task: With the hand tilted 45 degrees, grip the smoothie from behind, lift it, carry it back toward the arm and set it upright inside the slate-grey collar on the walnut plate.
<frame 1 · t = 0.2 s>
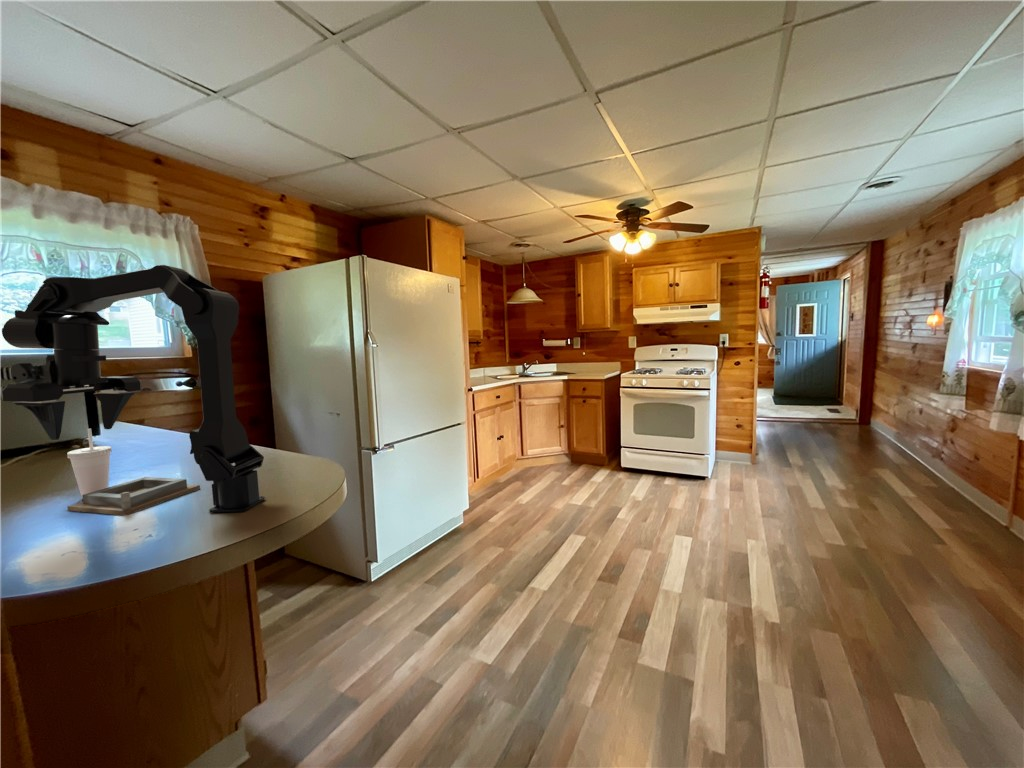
hand: (82, 434, 76), 14 cm above the table, tool pointing down, fingers open, 9 cm apart
smoothie: (95, 496, 85), on the table
socket: (138, 498, 82), on the table
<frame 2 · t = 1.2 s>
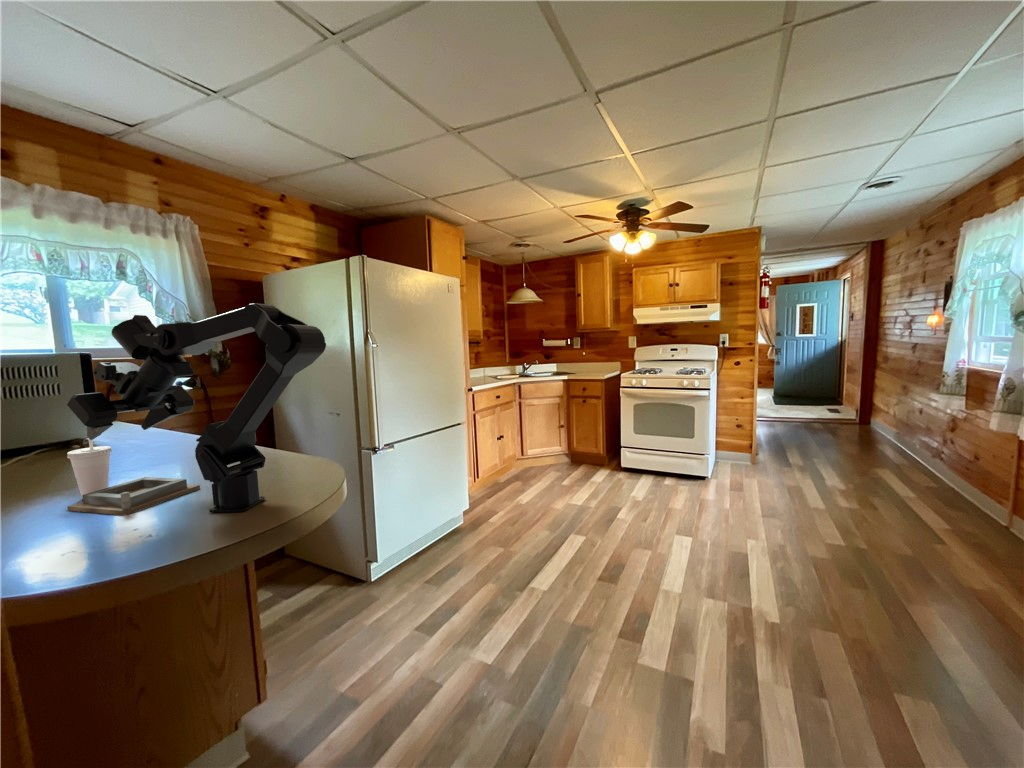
hand: (118, 432, 82), 13 cm above the table, tool tilted 45°, fingers open, 9 cm apart
nothing on the table moved.
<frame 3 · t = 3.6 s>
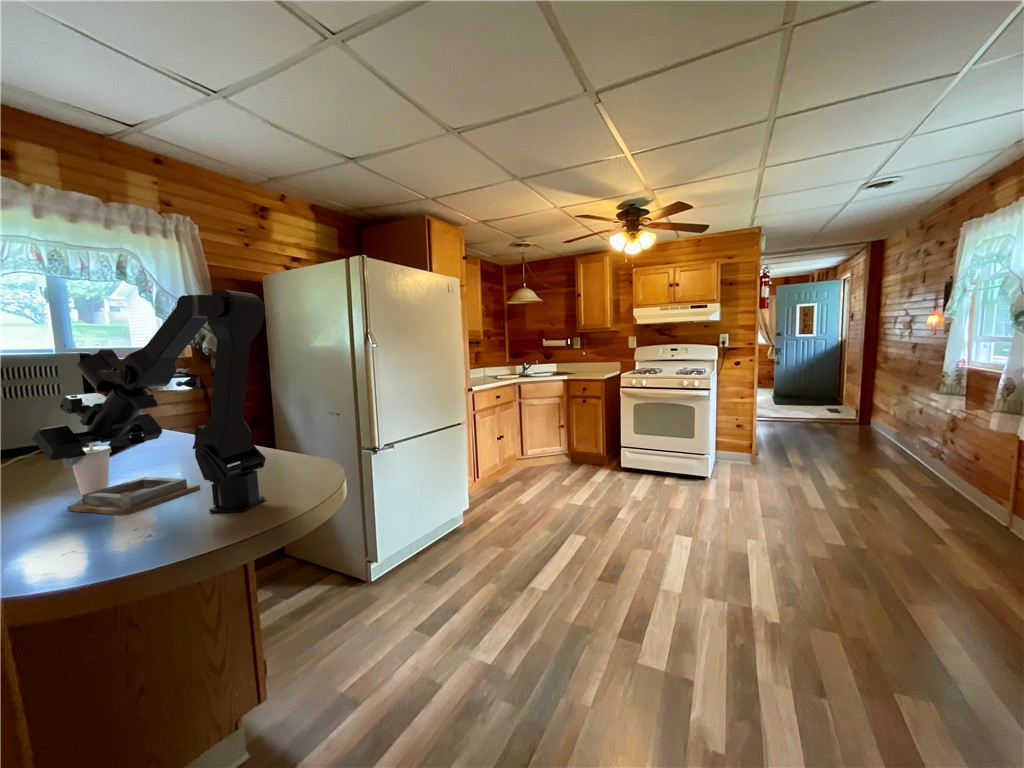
hand: (86, 461, 84), 7 cm above the table, tool tilted 45°, fingers closed on smoothie, 6 cm apart
smoothie: (95, 496, 85), on the table, touching gripper
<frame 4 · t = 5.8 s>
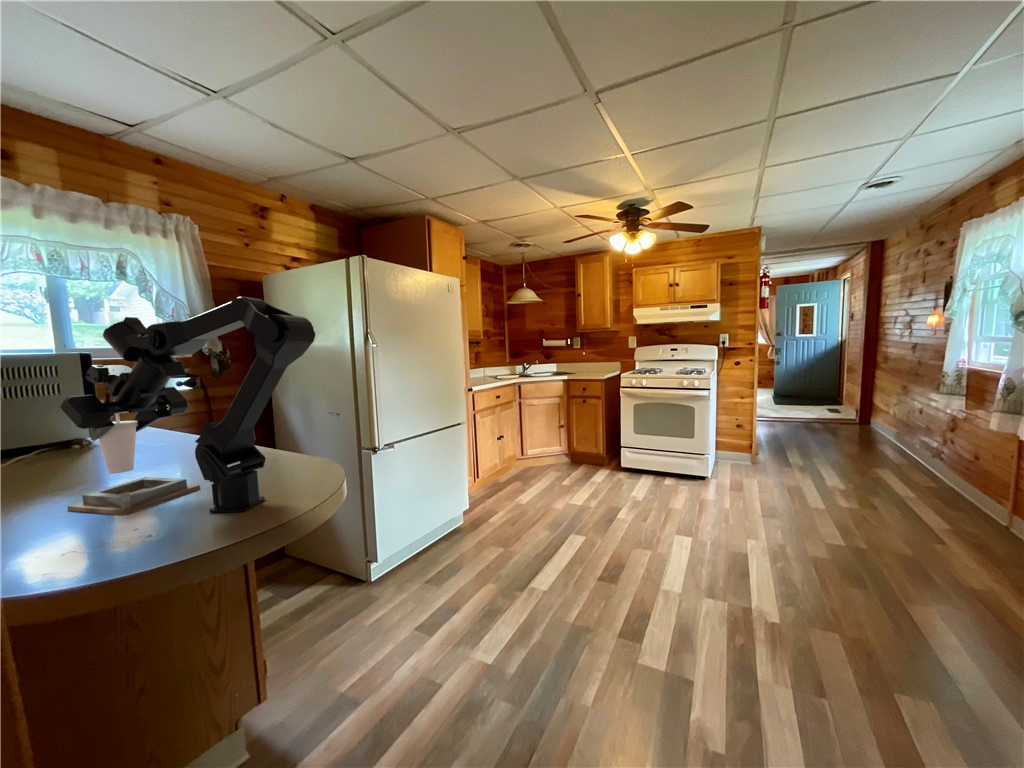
hand: (112, 435, 82), 13 cm above the table, tool tilted 45°, fingers closed on smoothie, 6 cm apart
smoothie: (121, 472, 82), point 5 cm above the table, touching gripper
when the fingers open (9 cm above the table, at t = 7.8 s): smoothie stays where it is, resting on socket.
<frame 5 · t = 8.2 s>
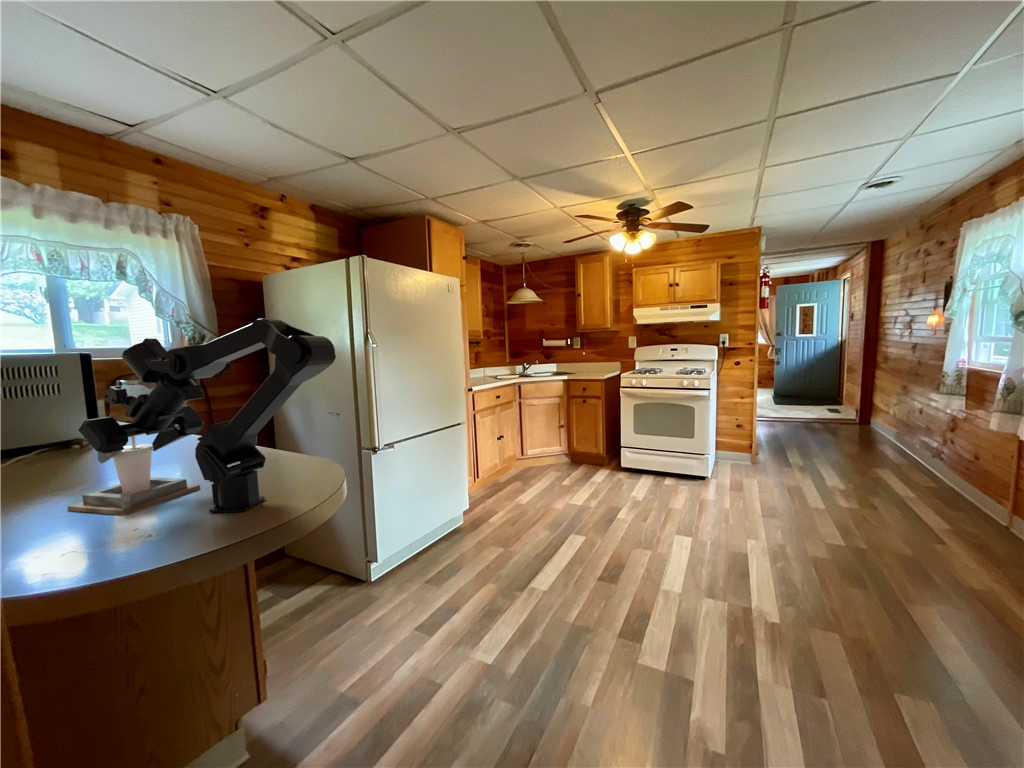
hand: (128, 455, 82), 9 cm above the table, tool tilted 45°, fingers open, 9 cm apart
smoothie: (137, 496, 82), point 1 cm above the table, touching socket
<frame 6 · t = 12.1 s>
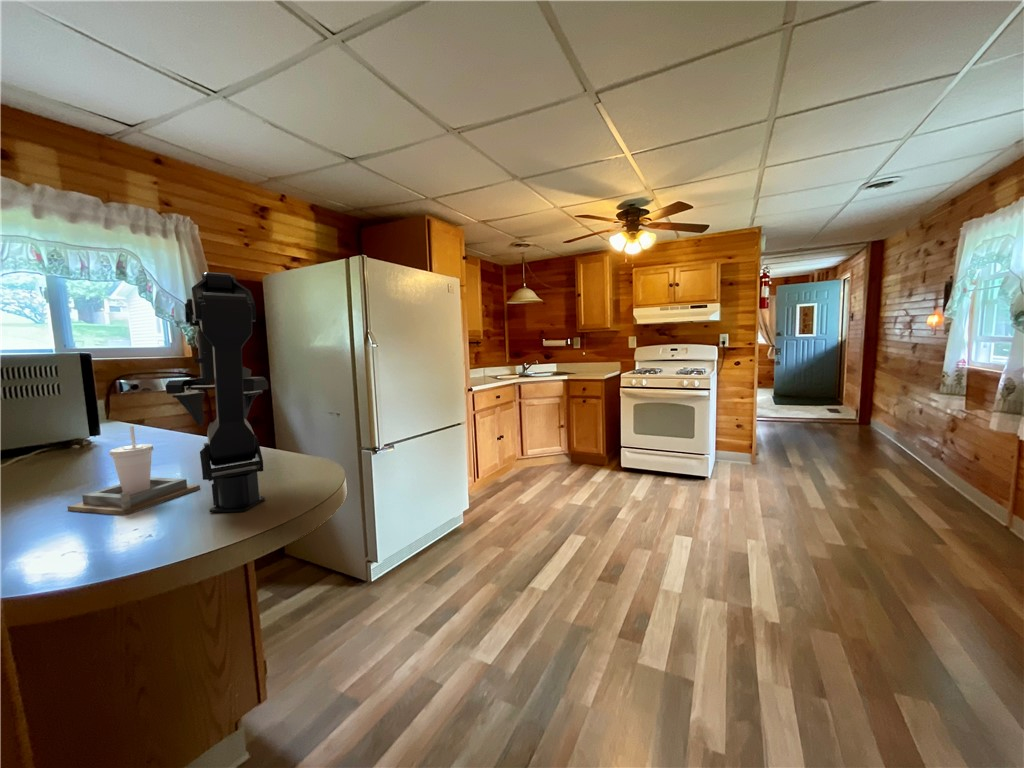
hand: (221, 424, 90), 13 cm above the table, tool pointing down, fingers open, 9 cm apart
nothing on the table moved.
at the end: smoothie 0.3 cm off-centre on the socket, point 0.6 cm above the socket's base; smoothie tilted 0°; the gripper is holding nothing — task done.
